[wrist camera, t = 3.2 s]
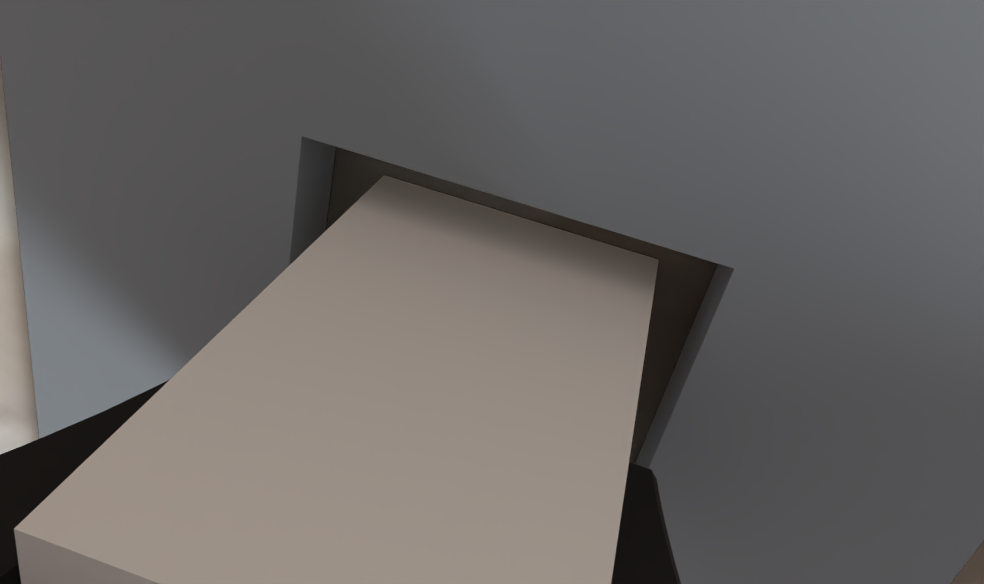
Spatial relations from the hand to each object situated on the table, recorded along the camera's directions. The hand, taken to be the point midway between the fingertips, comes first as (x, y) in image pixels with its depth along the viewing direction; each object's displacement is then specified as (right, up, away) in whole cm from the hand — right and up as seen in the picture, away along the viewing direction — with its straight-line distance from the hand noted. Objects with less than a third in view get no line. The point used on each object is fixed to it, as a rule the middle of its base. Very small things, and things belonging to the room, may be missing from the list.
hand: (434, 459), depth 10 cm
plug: (+1, +1, +2) cm, 2 cm away
